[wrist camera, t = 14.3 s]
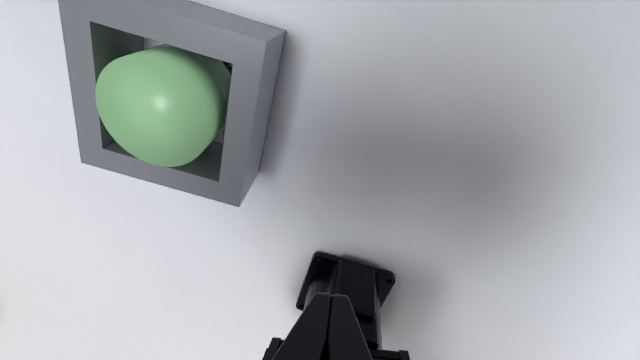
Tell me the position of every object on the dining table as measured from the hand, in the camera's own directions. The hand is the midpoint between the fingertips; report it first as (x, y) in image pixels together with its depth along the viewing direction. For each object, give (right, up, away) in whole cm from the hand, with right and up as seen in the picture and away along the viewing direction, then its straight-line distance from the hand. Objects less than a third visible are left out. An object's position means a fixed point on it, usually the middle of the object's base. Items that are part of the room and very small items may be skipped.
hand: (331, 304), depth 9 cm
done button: (-8, +8, +10) cm, 15 cm away
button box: (-8, +9, +11) cm, 16 cm away
